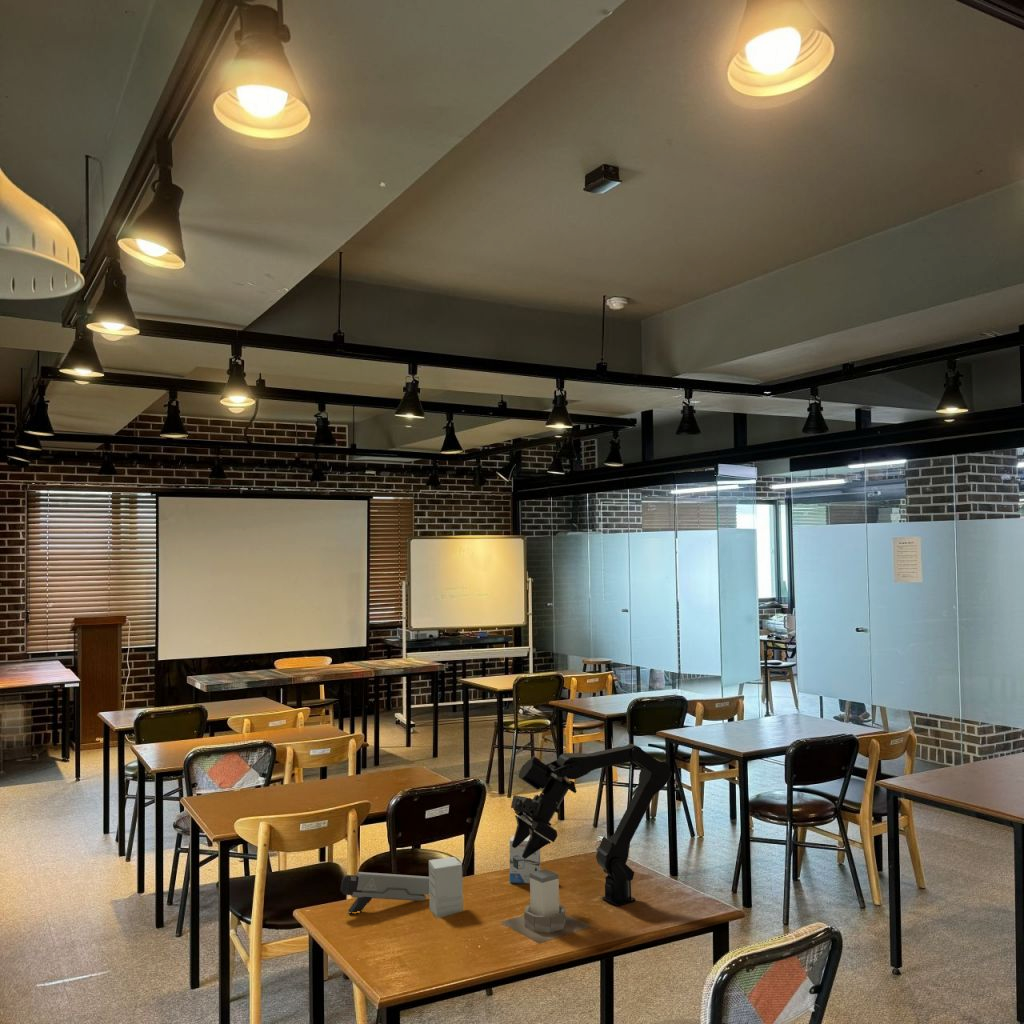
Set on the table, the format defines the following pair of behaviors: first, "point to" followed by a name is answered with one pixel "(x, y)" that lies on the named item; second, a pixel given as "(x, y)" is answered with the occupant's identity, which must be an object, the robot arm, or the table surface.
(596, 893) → the table surface
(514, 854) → the ink box
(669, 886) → the table surface
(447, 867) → the supplement box
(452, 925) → the table surface
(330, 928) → the table surface
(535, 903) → the link block
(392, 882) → the gun
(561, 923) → the ring stand
